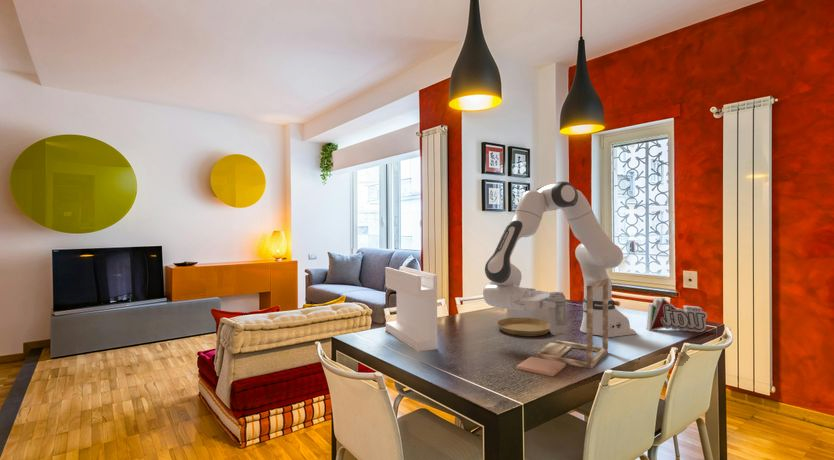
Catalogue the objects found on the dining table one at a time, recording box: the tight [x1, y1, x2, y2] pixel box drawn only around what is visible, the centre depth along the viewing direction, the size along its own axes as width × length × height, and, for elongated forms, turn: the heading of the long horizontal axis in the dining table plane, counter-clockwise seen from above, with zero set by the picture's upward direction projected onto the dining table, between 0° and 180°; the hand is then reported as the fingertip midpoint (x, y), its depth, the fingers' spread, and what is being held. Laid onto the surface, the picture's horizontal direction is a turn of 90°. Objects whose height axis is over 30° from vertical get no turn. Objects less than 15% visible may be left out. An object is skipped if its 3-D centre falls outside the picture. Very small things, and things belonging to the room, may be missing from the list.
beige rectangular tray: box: [538, 342, 572, 357], centre depth 160 cm, size 7×15×2 cm, turn 143°
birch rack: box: [535, 278, 609, 369], centre depth 156 cm, size 19×22×27 cm
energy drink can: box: [548, 291, 568, 336], centre depth 159 cm, size 6×6×15 cm
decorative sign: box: [646, 296, 708, 333], centre depth 191 cm, size 23×3×15 cm, turn 84°
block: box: [384, 265, 438, 352], centre depth 179 cm, size 35×8×28 cm, turn 24°
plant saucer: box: [496, 317, 550, 337], centre depth 192 cm, size 24×24×3 cm
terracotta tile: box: [515, 356, 567, 377], centre depth 143 cm, size 12×12×1 cm
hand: (559, 303), depth 159 cm, fingers closed on energy drink can, 6 cm apart
